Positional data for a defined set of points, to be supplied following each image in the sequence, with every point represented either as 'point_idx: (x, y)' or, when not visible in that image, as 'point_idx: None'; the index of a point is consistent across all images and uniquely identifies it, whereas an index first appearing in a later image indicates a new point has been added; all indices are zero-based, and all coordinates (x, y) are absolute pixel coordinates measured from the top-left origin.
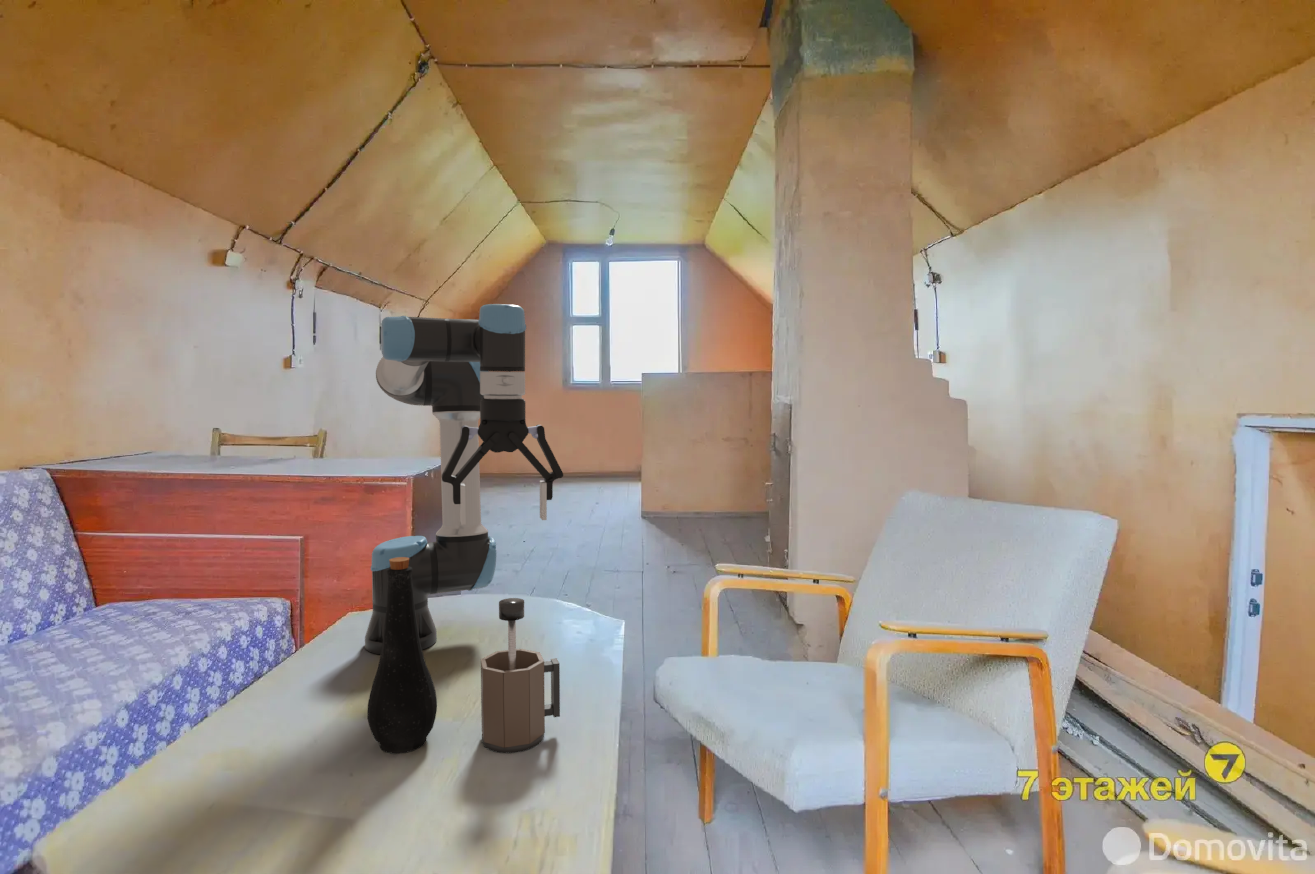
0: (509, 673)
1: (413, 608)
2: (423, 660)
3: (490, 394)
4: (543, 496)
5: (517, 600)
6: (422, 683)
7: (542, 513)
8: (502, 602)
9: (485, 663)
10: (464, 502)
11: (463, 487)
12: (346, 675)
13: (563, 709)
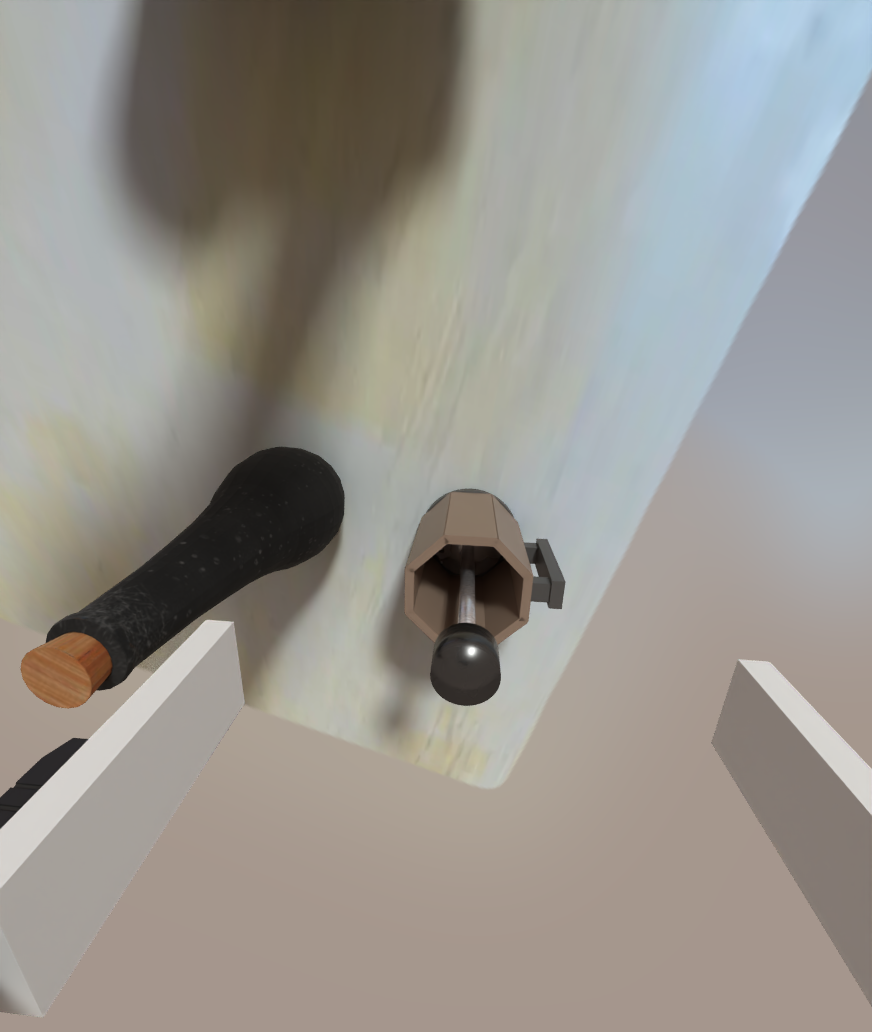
0: None
1: (209, 603)
2: (288, 548)
3: None
4: (835, 926)
5: (483, 673)
6: (301, 559)
7: (736, 782)
8: (440, 675)
9: (412, 592)
10: (155, 834)
11: (40, 991)
12: (152, 103)
13: (574, 467)
